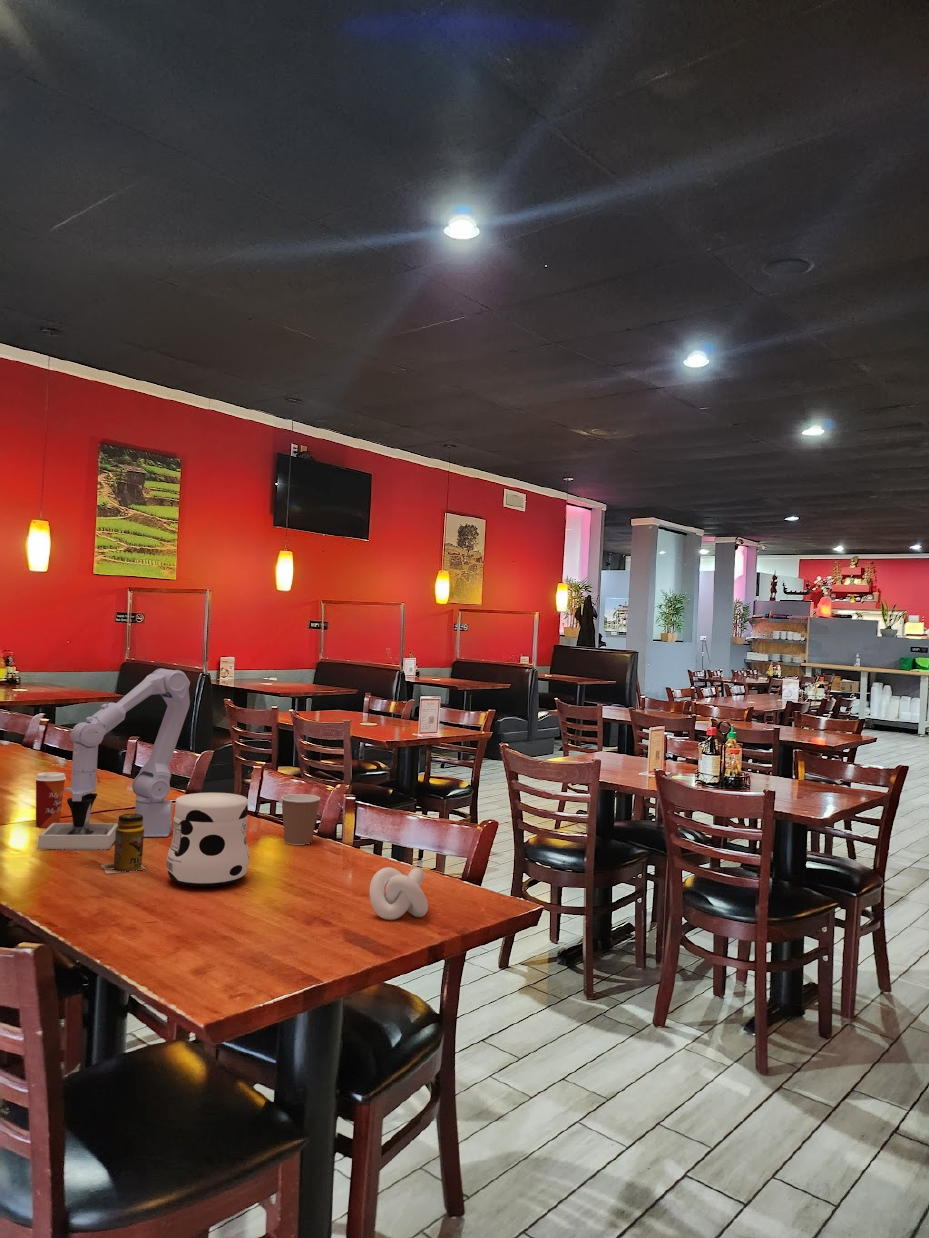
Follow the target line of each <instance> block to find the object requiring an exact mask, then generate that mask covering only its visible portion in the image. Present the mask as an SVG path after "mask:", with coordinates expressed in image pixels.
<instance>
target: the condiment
mask: <svg viewBox="0 0 929 1238" xmlns="http://www.w3.org/2000/svg"><path fill="white" fill-rule="evenodd" d="M117 823H118V827H117V828H116V836H115V842H114V853H113V854H114V855H113V863H112V864H106V863H105V864H100V867H101V869H103V868H104V869H105V868H114V869H112V870H116V871H122V872H115V871H113V872H112V870H111V869H110V870H109V869H108V870H105V871H104V872H105V873H106V874H107V875H108V874H109V875H110V874H118V873H119V874H120V873H127V872H126V871H129V872H128V873H132V872H138V871H137V870H138V869H140V868H144V869H145V870H144V871H146V870H147V869H146V867H144V866H143V865H142V864H143V855H144V854H143V852H144V839H145V837H144V827H143V826H142V825H143V816H142V815H141V814H135V813H123V814H120V815H119V816H118V821H117ZM134 870H136V871H134ZM123 871H124V872H123Z"/></svg>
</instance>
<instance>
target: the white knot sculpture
mask: <svg viewBox="0 0 929 1238" xmlns="http://www.w3.org/2000/svg"><path fill="white" fill-rule="evenodd" d="M424 875H425V873H424V872H423V870H422V869H421V868H419V867H414V868H413V869H411V870H410V871H409V873H408V874H403V873H402V872H401V871H399V870H398V869H396V868H393V867H391V866H389V867H388V866H386V867H383V868H381V869H379V870H377V871H376V873H375V874H374V875H373V876H372V878H371V880H370V884H369V900H370V903H371V906H372V908H373V910H374V912H375V913H376V915H378V916H379V917H380V918H381V919H384V920H385V921H387V920H388V921H392V920H393V921H394V920H397V919H399V918H401V917H402V916H403V915H404V914H405V913H406V912H408V913H409V914H410V915H411V916H413V917H415V918H423V916H426V914H427V912H428V910H429V905H428V900H427V897H426V894H425V893H424V891H423V889H422V888H421V885H422V882H423V880H424V877H425V876H424Z"/></svg>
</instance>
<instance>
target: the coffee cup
mask: <svg viewBox="0 0 929 1238" xmlns="http://www.w3.org/2000/svg"><path fill="white" fill-rule="evenodd" d="M280 799H281V800H282V801H281V802H282V820H283V821H282V823H283V837H284V842H286V843H289V844H292V845H304V844H308V843H310V842H311V843H312V842H313V838H314V833H315V827H316V822H317V821H316V820H317V815H318V809H319V803H320V800H321V797H320V796H318V795H316V794H315V795H314V794H305V793H293V794H292V793H291V794H285V795H282V796H281V797H280ZM286 843H285V844H286ZM292 845H291V846H292Z"/></svg>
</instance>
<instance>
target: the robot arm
mask: <svg viewBox="0 0 929 1238" xmlns="http://www.w3.org/2000/svg"><path fill="white" fill-rule="evenodd" d="M190 684H191V681H190V680H189V678H188V676H187V675H186V674H185V672H184V671H182V670H179V669H175V670H174V669H167V668H163V667H161V668H157V669H156V670H154V671H153V672H152V673H150V674H148V675H146V677H145V678H144V679H143V680H142V681H141V682H139V684H137V685H136V686H134V687H133V688H132V689H131V690H130V691H129V692H128V693H127V694H125V695H124V696H123V697H122V698H121V699H120V700H118V701H117V702H109V703H104V704H102V705H101V706H100V708H101V709H99V710H98V711H96V712H95V713H94V714H93V715H92V716H88V717H86V718H85V720H86V721H83V722H79V723H77V724H76V725H74V726H73V728H72V731H71V732H70V733H69V737H70V741H72V743H73V750H72V763H71V777H70V778H71V780H70V781H71V782H70V787H69V786H68V787H65V789H64V790H65V792H70V794H72V797H68V798H67V799H66V802H67V804H68V806H69V809H70V812H71V817H72V818H73V824H74V827H83V826H84V824H85V820H86V815H87V811H88V808H89V806H90V804H91V809H90V812H91V810H92V808H93V805H94V804H95V803H94V802H95V800H96V799H97V798H98V793H96V792H97V784H96V783H97V770H98V755H99V752H98V751H99V745H100V744H101V743H102V741H103V740H104V737H105V735H106V734H108V733H109V732H111V730H113V729H114V728H116V727H117V726H118V725H119V724H120V723H122V722H123V721H125V719H126V713H127V712H129V711H130V710H131V709H133V708H134V707H136V706H137V705H139V704H141V702H143V701H144V700H146V699H147V698H149V697H150V696H152V695H160V696H161V697H162V699H163V700H164V702H165V704H166V706H167V707H166V710H165V712H164V715H163V718H162V722H161V724H160V726H159V729H158V732H157V736H156V739H155V742H154V744H153V746H152V750H151V752H150V756H149V758H148V761H147V762H146V763H145V764H144V765H143V766H141V768H140V770H139V773H138V774H137V775H136V777H134V779H133V781H132V783H131V789H132V792H133V793H134V794H135V807H134V809H135V810H134V814H141V815H142V816H143V825H142V826H143V827H144V838H148V837H149V838H157V837H158V838H162V837H163V838H164V837H165V838H167V837H169V836H170V834H171V831H172V828H173V827H172V826H173V822H172V820H173V801H172V800H166V798H167V797H168V795H169V794H170V790H171V785H170V781H171V778H172V773H171V770H170V767H169V766H170V763H171V761H172V758H173V755H174V752H175V748H176V746H177V743H178V740H179V737H180V735H181V733H182V728H183V725H184V722H185V720H186V718H187V714H188V711H189V708H190V704H191V699H190V691H189V688H190Z"/></svg>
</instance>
